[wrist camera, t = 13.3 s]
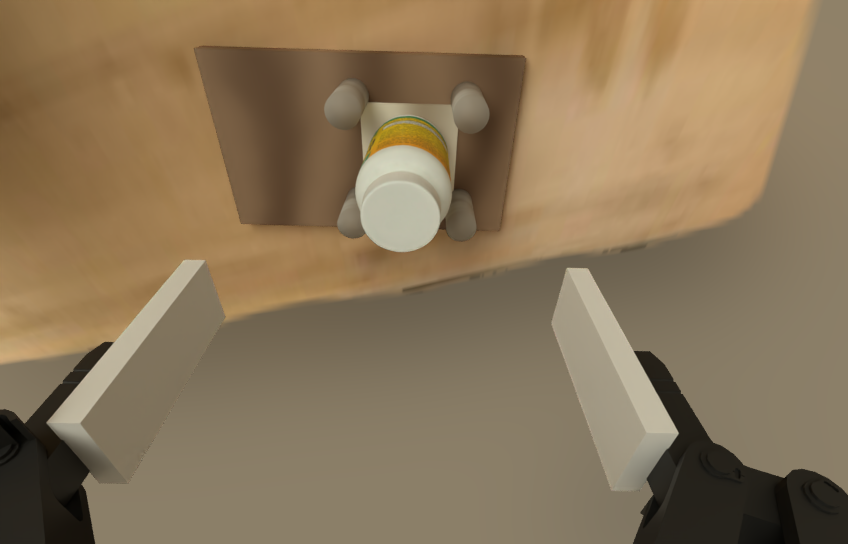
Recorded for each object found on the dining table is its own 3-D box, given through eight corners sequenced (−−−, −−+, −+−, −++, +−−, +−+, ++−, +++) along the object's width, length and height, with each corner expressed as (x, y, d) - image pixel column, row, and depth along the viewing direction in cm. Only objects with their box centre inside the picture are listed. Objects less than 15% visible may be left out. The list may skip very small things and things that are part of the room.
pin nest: (245, 217, 32) (219, 252, 28) (201, 45, 25) (157, 58, 21) (497, 224, 32) (507, 259, 28) (522, 55, 25) (540, 70, 21)
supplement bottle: (446, 189, 29) (452, 265, 22) (372, 189, 30) (351, 264, 22) (449, 112, 26) (457, 168, 19) (366, 111, 26) (339, 167, 19)
